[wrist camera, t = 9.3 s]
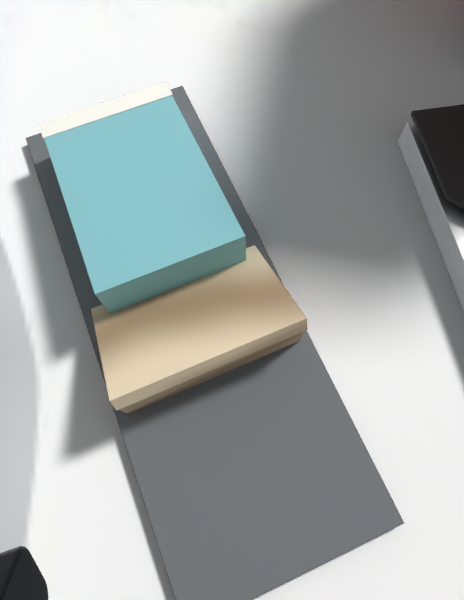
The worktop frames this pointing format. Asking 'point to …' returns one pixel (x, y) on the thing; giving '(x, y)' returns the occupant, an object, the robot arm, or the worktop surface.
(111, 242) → the card deck
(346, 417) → the mat
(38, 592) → the robot arm
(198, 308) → the ramp
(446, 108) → the picture frame
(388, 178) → the worktop surface
